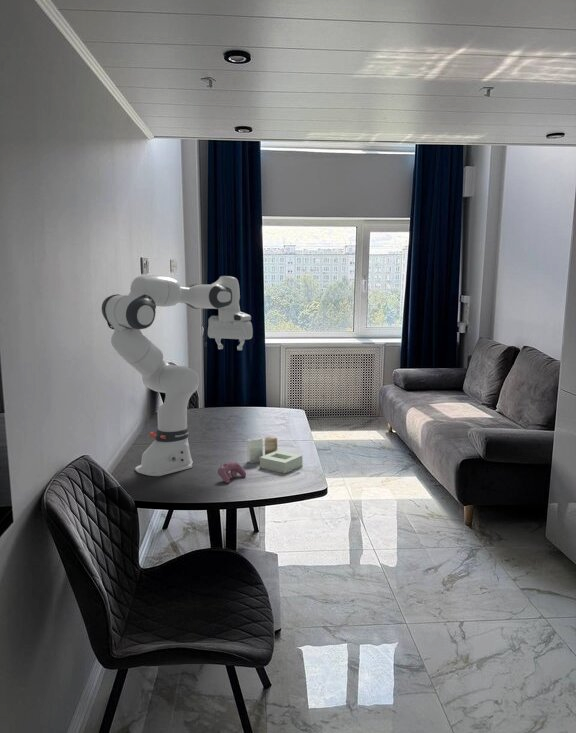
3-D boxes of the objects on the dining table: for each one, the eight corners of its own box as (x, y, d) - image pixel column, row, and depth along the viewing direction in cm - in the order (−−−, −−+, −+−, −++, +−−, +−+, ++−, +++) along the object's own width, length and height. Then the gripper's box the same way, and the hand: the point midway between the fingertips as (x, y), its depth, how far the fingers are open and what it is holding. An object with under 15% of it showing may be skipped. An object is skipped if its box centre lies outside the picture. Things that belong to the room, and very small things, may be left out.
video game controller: (240, 478, 217) (233, 460, 218) (248, 475, 214) (241, 457, 215) (220, 486, 209) (213, 467, 210) (228, 483, 206) (221, 464, 207)
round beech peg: (272, 460, 233) (271, 440, 231) (262, 458, 236) (262, 438, 234) (280, 457, 237) (279, 438, 235) (270, 455, 240) (269, 436, 238)
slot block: (285, 473, 217) (284, 462, 217) (259, 467, 224) (259, 457, 224) (302, 465, 226) (302, 455, 225) (277, 460, 233) (277, 450, 232)
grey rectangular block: (262, 460, 232) (262, 438, 231) (250, 463, 230) (249, 440, 228) (260, 459, 234) (259, 437, 233) (247, 461, 232) (246, 439, 231)
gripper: (204, 316, 244) (205, 349, 246) (246, 316, 234) (246, 351, 236) (212, 315, 249) (213, 347, 251) (254, 316, 240) (255, 349, 242)
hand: (230, 349), depth 244 cm, fingers open, 8 cm apart
